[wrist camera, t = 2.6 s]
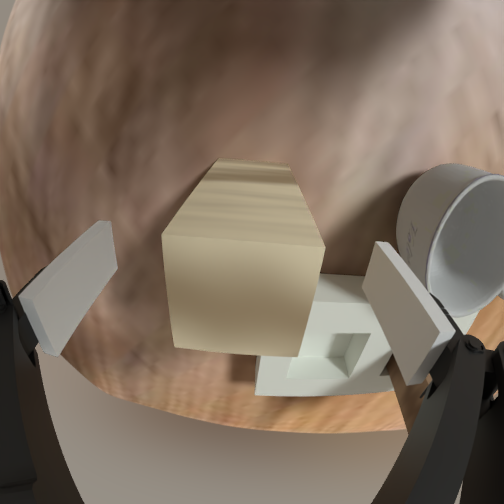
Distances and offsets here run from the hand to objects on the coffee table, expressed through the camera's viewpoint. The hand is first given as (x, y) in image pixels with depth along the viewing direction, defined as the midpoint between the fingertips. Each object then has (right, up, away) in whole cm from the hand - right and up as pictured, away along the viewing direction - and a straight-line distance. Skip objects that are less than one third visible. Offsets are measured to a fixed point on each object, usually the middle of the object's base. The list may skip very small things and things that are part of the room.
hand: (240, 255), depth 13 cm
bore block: (+12, -8, +14) cm, 20 cm away
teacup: (+18, +3, +8) cm, 20 cm away
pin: (0, +5, +8) cm, 9 cm away
